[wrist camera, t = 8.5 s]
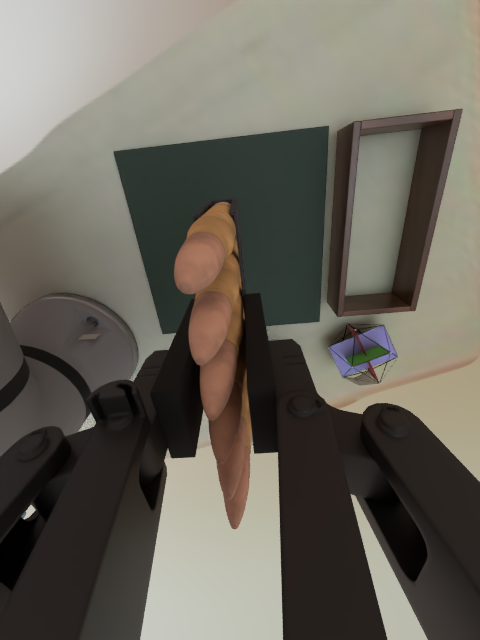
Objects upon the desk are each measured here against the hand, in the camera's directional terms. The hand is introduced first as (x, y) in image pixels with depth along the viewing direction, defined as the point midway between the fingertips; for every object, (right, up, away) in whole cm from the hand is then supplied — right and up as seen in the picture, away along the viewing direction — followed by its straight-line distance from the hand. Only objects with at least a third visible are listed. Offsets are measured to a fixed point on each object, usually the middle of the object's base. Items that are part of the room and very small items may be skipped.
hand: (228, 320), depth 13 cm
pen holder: (+14, +10, +14) cm, 23 cm away
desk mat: (0, +8, +16) cm, 18 cm away
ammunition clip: (0, +2, +4) cm, 5 cm away
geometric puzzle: (+15, -2, +21) cm, 26 cm away
